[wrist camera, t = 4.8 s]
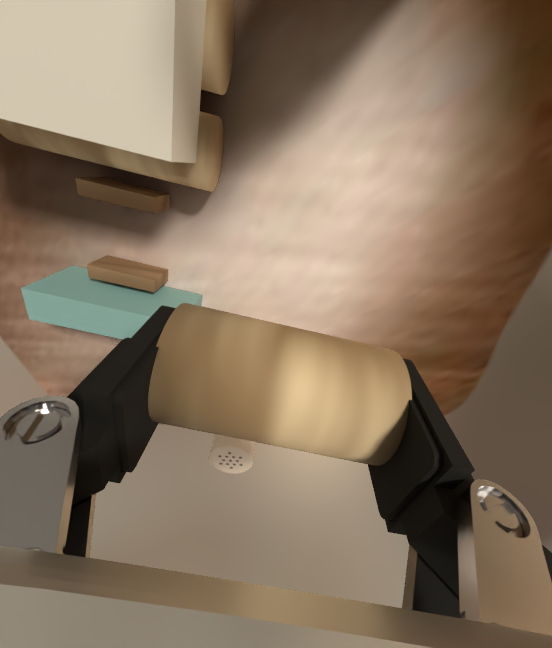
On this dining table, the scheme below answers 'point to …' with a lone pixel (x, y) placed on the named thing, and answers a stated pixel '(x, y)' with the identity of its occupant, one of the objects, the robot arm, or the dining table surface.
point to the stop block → (97, 303)
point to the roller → (279, 386)
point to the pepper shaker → (231, 454)
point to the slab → (106, 71)
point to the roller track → (188, 174)
